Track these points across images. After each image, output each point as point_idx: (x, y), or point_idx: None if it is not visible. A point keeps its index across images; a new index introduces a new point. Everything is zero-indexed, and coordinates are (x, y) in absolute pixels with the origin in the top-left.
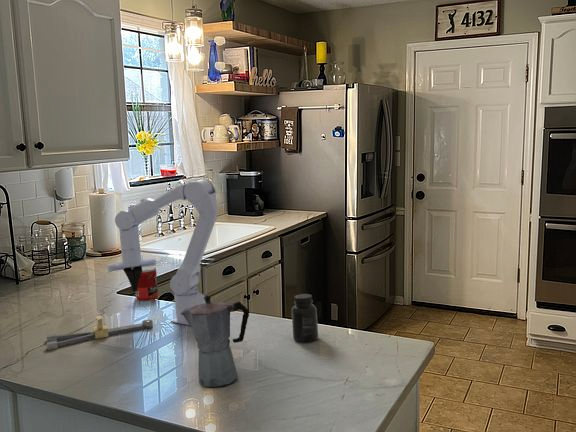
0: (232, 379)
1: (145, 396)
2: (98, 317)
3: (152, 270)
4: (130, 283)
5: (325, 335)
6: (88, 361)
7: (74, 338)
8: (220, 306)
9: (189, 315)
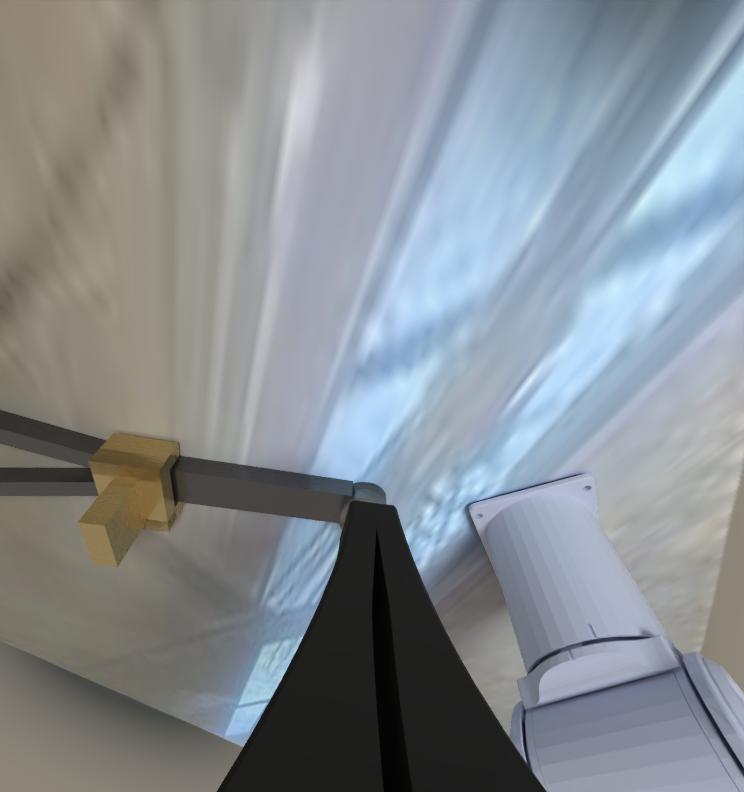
0: None
1: (234, 719)
2: (94, 543)
3: None
4: (336, 570)
5: None
6: (124, 609)
7: (23, 487)
8: None
9: None
